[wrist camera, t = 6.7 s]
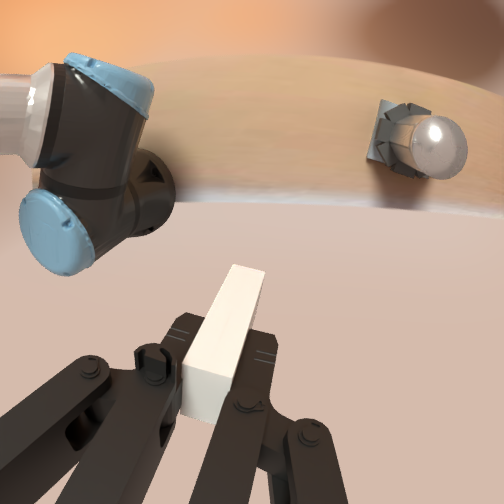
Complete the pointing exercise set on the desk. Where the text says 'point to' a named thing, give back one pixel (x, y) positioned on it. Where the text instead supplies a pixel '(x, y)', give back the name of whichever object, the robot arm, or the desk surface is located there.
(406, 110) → the ring
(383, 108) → the dowel stand
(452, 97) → the desk surface
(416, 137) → the silver metal cylinder
